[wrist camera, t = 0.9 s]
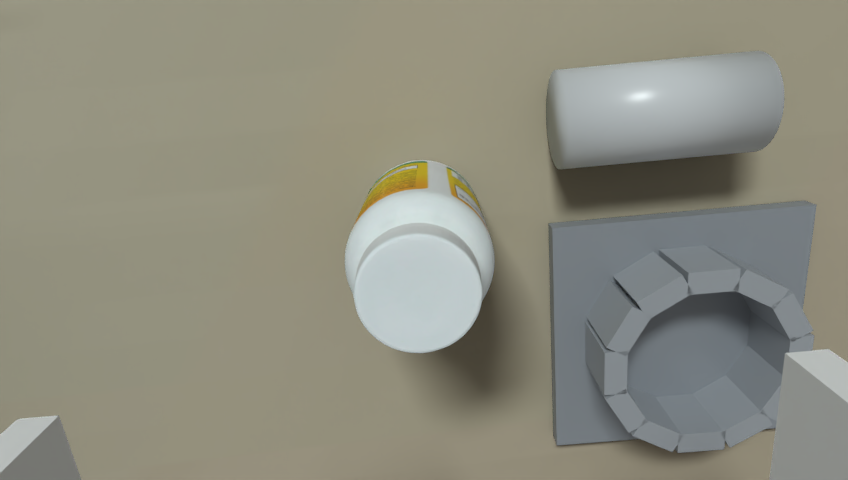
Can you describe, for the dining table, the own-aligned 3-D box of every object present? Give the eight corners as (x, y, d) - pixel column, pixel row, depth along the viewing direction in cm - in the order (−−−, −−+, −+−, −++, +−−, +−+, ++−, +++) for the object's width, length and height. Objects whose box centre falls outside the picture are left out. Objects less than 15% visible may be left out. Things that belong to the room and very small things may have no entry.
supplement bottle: (492, 176, 25) (532, 240, 16) (458, 279, 27) (477, 391, 18) (379, 143, 25) (355, 190, 16) (351, 251, 26) (314, 350, 17)
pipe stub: (546, 160, 25) (569, 178, 21) (545, 69, 24) (568, 70, 20) (723, 144, 25) (778, 159, 21) (730, 51, 24) (789, 49, 20)
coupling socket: (553, 435, 30) (571, 487, 26) (548, 223, 26) (569, 249, 22) (777, 417, 29) (827, 467, 26) (804, 200, 26) (867, 223, 22)
